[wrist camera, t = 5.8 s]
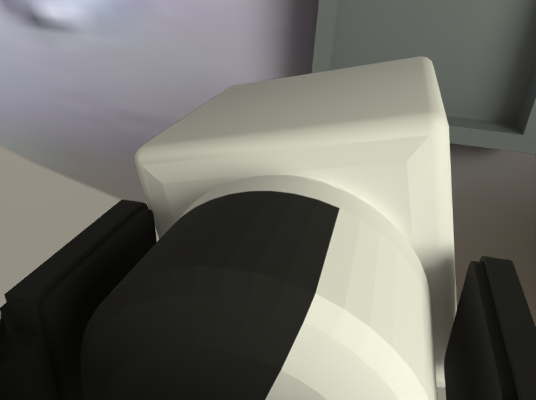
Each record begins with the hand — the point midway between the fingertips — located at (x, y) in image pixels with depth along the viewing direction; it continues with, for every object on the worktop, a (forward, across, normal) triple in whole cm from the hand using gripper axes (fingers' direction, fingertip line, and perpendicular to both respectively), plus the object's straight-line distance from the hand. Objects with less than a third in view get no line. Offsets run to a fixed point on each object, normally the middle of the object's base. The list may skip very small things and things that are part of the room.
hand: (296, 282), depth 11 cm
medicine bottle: (+8, 0, 0) cm, 8 cm away
